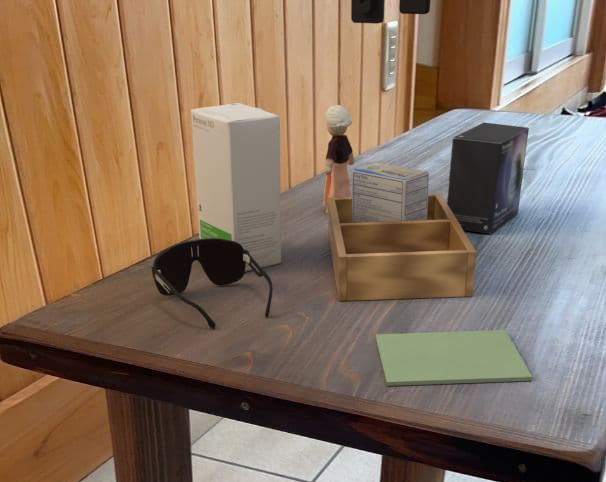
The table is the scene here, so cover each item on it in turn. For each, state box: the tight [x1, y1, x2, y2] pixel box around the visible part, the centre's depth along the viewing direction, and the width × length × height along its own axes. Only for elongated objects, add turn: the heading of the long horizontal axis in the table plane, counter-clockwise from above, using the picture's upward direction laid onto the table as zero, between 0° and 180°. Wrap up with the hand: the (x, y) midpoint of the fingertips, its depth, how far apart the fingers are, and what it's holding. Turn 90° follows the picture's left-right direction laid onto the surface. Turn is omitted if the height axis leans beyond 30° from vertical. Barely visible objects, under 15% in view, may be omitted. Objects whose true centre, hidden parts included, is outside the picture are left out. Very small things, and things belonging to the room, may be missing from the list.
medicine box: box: [351, 162, 430, 223], centre depth 97 cm, size 8×4×9 cm, turn 45°
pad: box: [375, 329, 533, 387], centre depth 74 cm, size 12×10×1 cm
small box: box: [446, 121, 530, 235], centre depth 104 cm, size 11×6×10 cm, turn 150°
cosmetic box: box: [190, 102, 282, 273], centre depth 93 cm, size 8×7×16 cm
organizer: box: [327, 193, 478, 302], centre depth 94 cm, size 14×22×4 cm, turn 1°
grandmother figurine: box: [322, 104, 356, 215], centre depth 109 cm, size 8×4×13 cm, turn 164°
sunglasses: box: [151, 238, 273, 329], centre depth 85 cm, size 10×12×5 cm
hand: (391, 18), depth 83 cm, fingers open, 9 cm apart
